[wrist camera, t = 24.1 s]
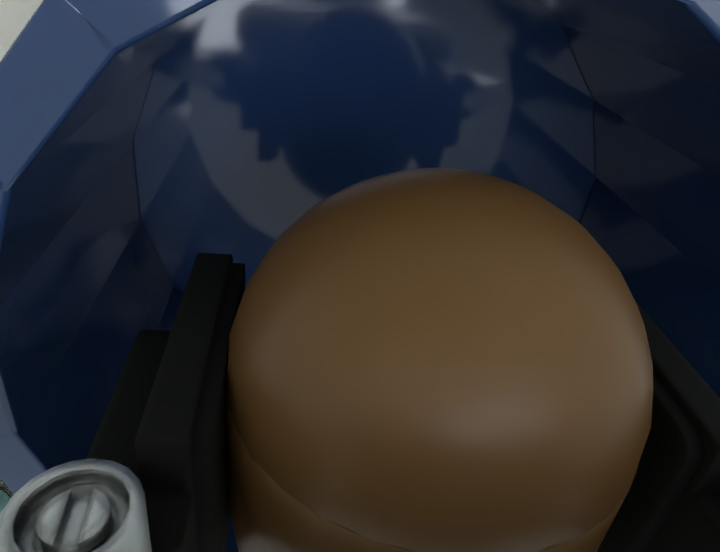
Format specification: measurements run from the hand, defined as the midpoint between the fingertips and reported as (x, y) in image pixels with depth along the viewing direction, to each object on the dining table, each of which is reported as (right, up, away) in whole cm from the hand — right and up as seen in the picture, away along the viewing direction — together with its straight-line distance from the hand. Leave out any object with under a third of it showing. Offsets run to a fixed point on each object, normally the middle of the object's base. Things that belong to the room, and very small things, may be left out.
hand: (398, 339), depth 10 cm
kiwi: (0, 0, +1) cm, 1 cm away
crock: (0, +3, +6) cm, 7 cm away
